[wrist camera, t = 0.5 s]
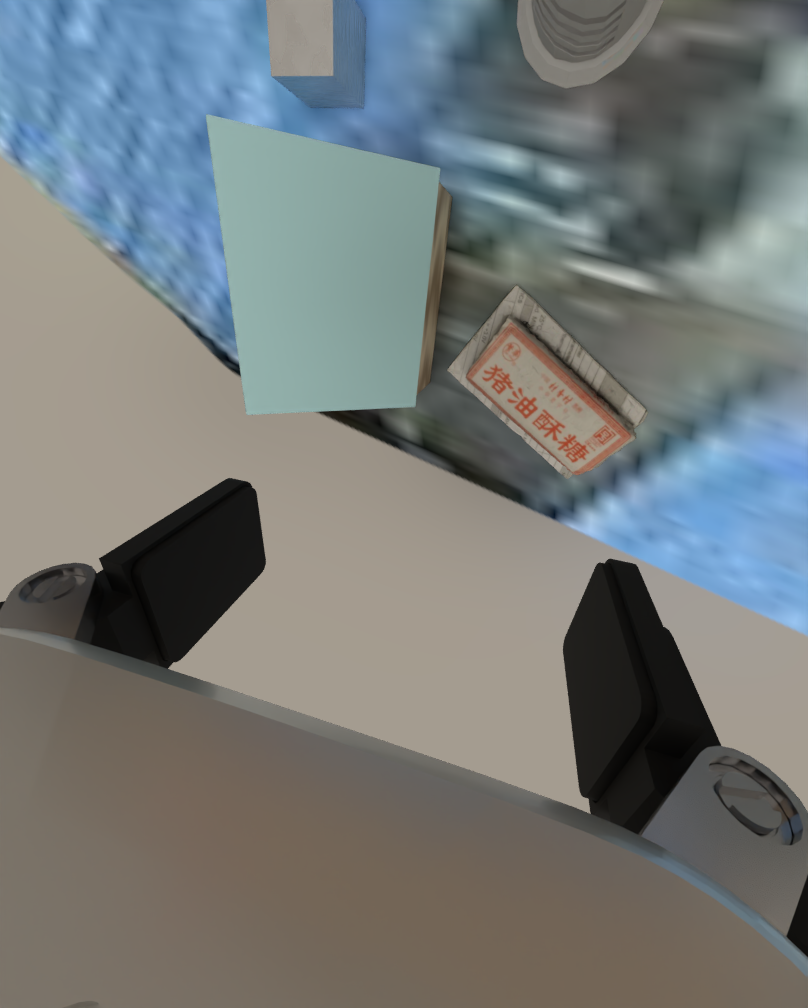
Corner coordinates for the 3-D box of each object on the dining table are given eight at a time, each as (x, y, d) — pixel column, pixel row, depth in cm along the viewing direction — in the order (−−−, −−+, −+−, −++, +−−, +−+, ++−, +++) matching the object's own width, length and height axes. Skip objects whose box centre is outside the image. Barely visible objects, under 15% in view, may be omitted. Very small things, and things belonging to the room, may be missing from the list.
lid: (206, 119, 21) (206, 114, 20) (433, 170, 26) (440, 168, 25) (245, 410, 29) (246, 414, 28) (410, 403, 35) (415, 406, 34)
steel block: (308, 21, 30) (264, -32, 25) (366, 18, 29) (332, -37, 24) (310, 108, 33) (271, 76, 28) (364, 108, 32) (333, 75, 27)
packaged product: (663, 426, 33) (570, 495, 39) (649, 411, 37) (566, 475, 43) (515, 282, 31) (438, 377, 37) (516, 282, 35) (447, 367, 41)
